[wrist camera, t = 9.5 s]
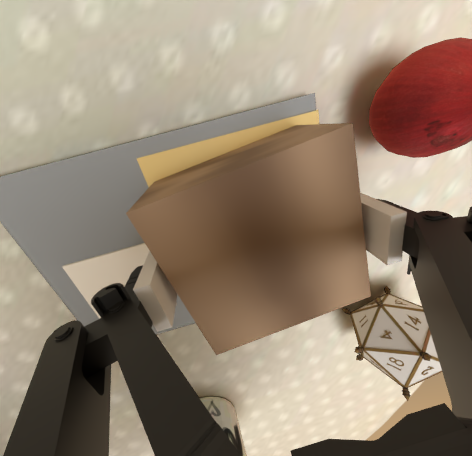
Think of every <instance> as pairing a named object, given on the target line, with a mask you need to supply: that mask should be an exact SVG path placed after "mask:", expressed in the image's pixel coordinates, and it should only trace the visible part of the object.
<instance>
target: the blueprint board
mask: <svg viewBox="0 0 472 456" xmlns="http://www.w3.org/2000/svg"><path fill="white" fill-rule="evenodd" d="M315 124H319V113H318V110H316V101H315V93H313V94H309V95H305V96H302V97H298V98H294V99H290V100H286V101H283V102H279V103H275V104H271V105H268V106H264V107H260V108H256V109H253V110H249V111H245V112H241V113H238V114H234V115H230V116H226V117H222V118H219V119H215V120H211V121H207V122H204V123H200V124H196V125H192V126H189V127H185V128H181V129H177V130H174V131H170V132H166V133H162V134H158V135H155V136H151V137H147V138H143V139H140V140H136V141H132V142H128V143H125V144H121V145H117V146H113V147H110V148H106V149H102V150H98V151H94V152H91V153H87V154H83V155H79V156H76V157H72V158H68V159H64V160H61V161H57V162H53V163H49V164H46V165H42V166H38V167H34V168H30V169H27V170H23V171H19V172H15V173H12V174H8V175H4V176H0V222H1V223H2V225H3V226H4V227H5V228H6V230H7V231H8V232H9V233H10V235H11V236H12V237H13V239H14V240H15V241H16V242H17V244H18V245H19V246H20V247H21V249H22V250H23V251H24V253H25V254H26V255H27V256H28V258H29V259H30V260H31V262H32V263H33V264H34V265H35V267H36V268H37V269H38V270H39V272H40V273H41V274H42V276H43V277H44V278H45V279H46V281H47V282H48V283H49V284H50V286H51V287H52V288H53V290H54V291H55V292H56V293H57V295H58V296H59V297H60V298H61V300H62V301H63V302H64V304H65V305H66V306H67V307H68V309H69V310H70V311H71V313H72V314H73V315H74V316H75V318H76V319H77V320H78V321H80V322H81V323H82V324H83V325H84V326H86V325H88V324H90V323H92V322H94V321H96V320H98V319H100V318H101V317H100V315H99V314H98V313H97V311H96V310H95V308H94V307H93V306H92V304H91V299H92V298H93V296H94V295H95V294H96V293H97V292H98V291H100V290H101V289H103V288H104V287H106V286H108V285H111V284H114V283H121V284H123V286H124V287H125V285H126V283H127V281H128V280H129V277H130V275H131V273H132V272H133V271H134V270H135V269H136V268H137V267H138V266H142V265H144V263H145V260H146V258H147V256H148V253H149V251H150V250H149V249H148V247H147V246H146V244H145V243H144V241H143V239H142V238H141V236H140V235H139V233H138V232H137V230H136V228H135V227H134V225H133V224H132V222H131V221H130V219H129V218H128V216H127V214H126V213H127V211H128V210H129V209H130V208H131V207H132V206H133V205H134V204H135V203H136V201H137V200H138V199H139V198H140V197H141V196H142V195H143V194H144V193H145V192H146V190H147V189H148V188H149V187H150V186H151V185H152V184H153V183H154V182H155V181H158V180H160V179H163V178H165V177H168V176H170V175H173V174H175V173H178V172H180V171H183V170H185V169H188V168H190V167H193V166H195V165H198V164H200V163H203V162H205V161H208V160H210V159H213V158H215V157H218V156H220V155H223V154H225V153H228V152H230V151H233V150H235V149H238V148H240V147H243V146H245V145H248V144H250V143H253V142H255V141H258V140H260V139H263V138H265V137H268V136H270V135H273V134H275V133H278V132H280V131H283V130H285V129H288V128H290V127H293V126H295V125H315ZM194 323H196V322H195V321H194V319H193V318H192V316H191V315H190V313H189V311H188V310H187V308H186V307H185V305H184V304H183V302H182V300H181V299H180V297H179V296H178V294H177V300H176V307H175V313H174V320H173V326H172V328H169V329H165V330H162V331H158V332H157V330H156V329H155V327H154V325H153V324H152V330H153V331H154V333H155V334H159V333H163V332H166V331H170V330H173V329H177V328H180V327H184V326H187V325H190V324H194Z"/></svg>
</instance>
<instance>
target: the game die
mask: <svg viewBox="0 0 472 456" xmlns="http://www.w3.org/2000/svg"><path fill="white" fill-rule="evenodd" d="M384 290H385V293H386V294H385V295H383V296H381V297H379V298H376V299H375V300H373V301H371V302H370V303H368V304H366V305H364V306H362V307H360V308H358V309H356V310H354V311H352V312H351V311H350V310H348V309H343V311H344V312H345V313H347V314H350V315H351V319H352V322H353V326H354V330H355V333H356V337H357V341H358V344H359V346H358V347H356V349H355V352H356V353H358V354H359V355H357V356H356V357H357V358H356V360H360V361H361V360H363V358H365V359H366V360H368V361H369V362H370V363H372V364H373V365H374V366H376V367H377V368H378V369H380V370H381V371H382V372H383V373H385V374H386V375H387V376H389V377H390V378H391V379H393V380H394V381H395V382H397V383H398V384H399V385H401V386H402V387H403V394H402V395H404V397H405V398H406V399H407V401H408V399H409V397H410V394H409V393H410V392H409V391H408V387H411V386H413V385H415V384H417V383H419V382H421V381H423V380H425V379H428V378H430V377H432V376H434V375H436V374H438V373H440V372H442V369H441V365H440V362H439V359H438V356H437V352H436V349H435V346H434V343H433V339H432V336H431V333H430V330H429V326H428V323H427V320H426V317H425V313H424V310H423V307H422V306H419V305H416V304H414V303H411V302H409V301H406V300H404V299H401V298H398V297H396V296H393V295H391V294H390V292H391V291H390V289H389V288H388V287H387V286H386V287H385V288H384Z"/></svg>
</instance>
